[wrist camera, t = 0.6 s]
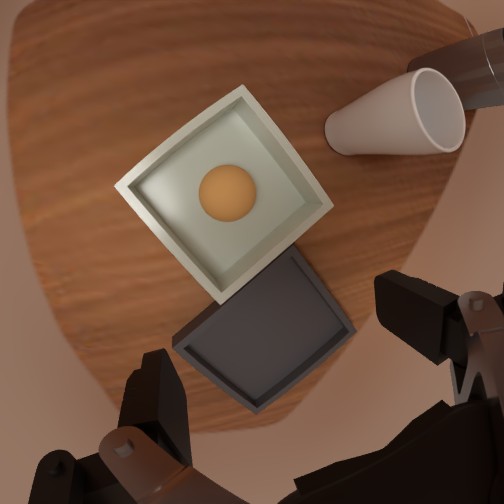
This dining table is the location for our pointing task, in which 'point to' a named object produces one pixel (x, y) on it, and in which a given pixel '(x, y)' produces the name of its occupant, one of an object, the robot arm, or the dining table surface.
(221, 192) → the ball
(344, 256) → the dining table surface
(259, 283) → the tray
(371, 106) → the drinking glass
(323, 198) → the open box
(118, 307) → the dining table surface
